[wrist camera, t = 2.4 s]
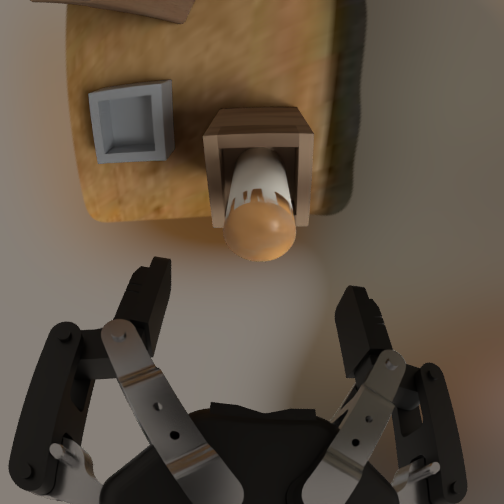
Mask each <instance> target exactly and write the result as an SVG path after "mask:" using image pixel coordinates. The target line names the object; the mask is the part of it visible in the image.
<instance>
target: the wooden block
mask: <svg viewBox="0 0 504 504" xmlns="http://www.w3.org/2000/svg"><path fill="white" fill-rule="evenodd" d="M30 1H32V2H47V3H49V2H50V3H64V4H76V5H85V6H89V7H93V8H100V9H107V10H114V11H121V12H127V13H132V14H138V15H143V16H148V17H153V18H157V19H162V20H166V21H170V22H174V23H178V24H183V23H184V22H185V21H186V19H187V16H188V14H189V12H190V10H191V8H192V6H193V4H194V2H195V0H30Z"/></svg>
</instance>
